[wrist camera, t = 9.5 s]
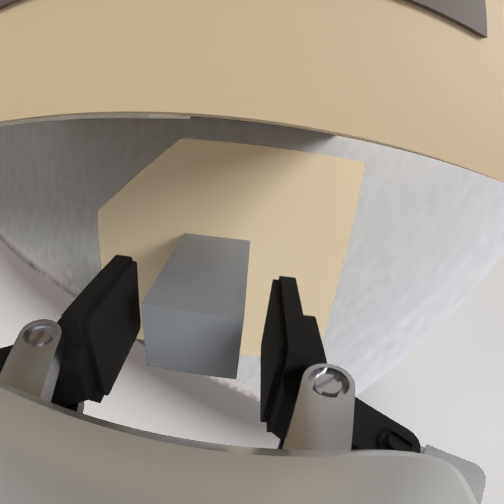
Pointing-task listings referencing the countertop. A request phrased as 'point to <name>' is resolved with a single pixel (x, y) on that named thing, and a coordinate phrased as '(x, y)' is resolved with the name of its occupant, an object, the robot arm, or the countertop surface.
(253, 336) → the flap
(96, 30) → the carton
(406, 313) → the countertop surface
